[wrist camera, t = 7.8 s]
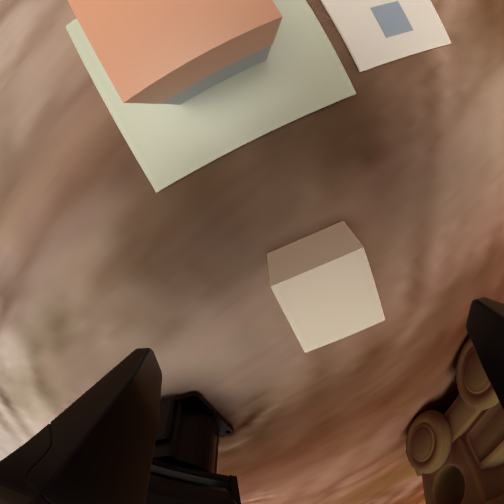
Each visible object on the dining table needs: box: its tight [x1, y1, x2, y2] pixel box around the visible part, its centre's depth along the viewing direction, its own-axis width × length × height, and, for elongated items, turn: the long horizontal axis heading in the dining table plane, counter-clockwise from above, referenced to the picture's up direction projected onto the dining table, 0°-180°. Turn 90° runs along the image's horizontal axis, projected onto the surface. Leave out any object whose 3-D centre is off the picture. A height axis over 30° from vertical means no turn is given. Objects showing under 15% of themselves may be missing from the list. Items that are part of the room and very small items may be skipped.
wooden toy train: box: [406, 338, 504, 504], centre depth 19 cm, size 20×11×17 cm, turn 171°
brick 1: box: [68, 0, 283, 104], centre depth 8 cm, size 5×5×4 cm
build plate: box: [65, 0, 356, 193], centre depth 14 cm, size 12×12×1 cm
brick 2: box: [267, 221, 385, 353], centre depth 18 cm, size 5×5×4 cm
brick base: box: [161, 45, 271, 105], centre depth 12 cm, size 5×5×4 cm
